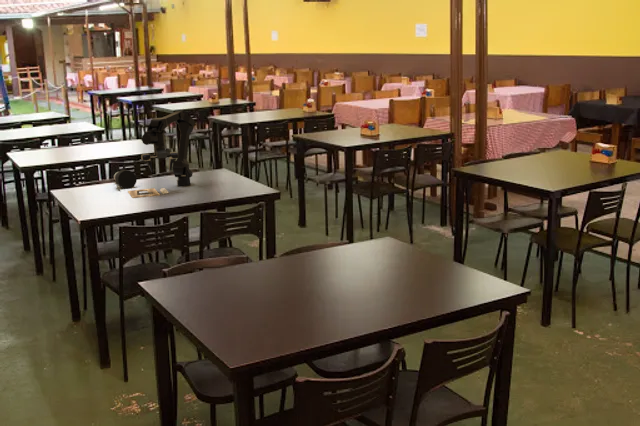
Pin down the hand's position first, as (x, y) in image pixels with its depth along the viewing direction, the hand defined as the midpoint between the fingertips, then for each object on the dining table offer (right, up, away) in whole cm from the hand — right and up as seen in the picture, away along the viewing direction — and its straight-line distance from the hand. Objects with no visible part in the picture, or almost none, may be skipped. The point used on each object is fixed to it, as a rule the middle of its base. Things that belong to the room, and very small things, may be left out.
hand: (161, 172), depth 366 cm
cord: (+1, -10, +3) cm, 11 cm away
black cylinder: (-30, -6, +34) cm, 45 cm away
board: (-9, -13, +1) cm, 16 cm away
